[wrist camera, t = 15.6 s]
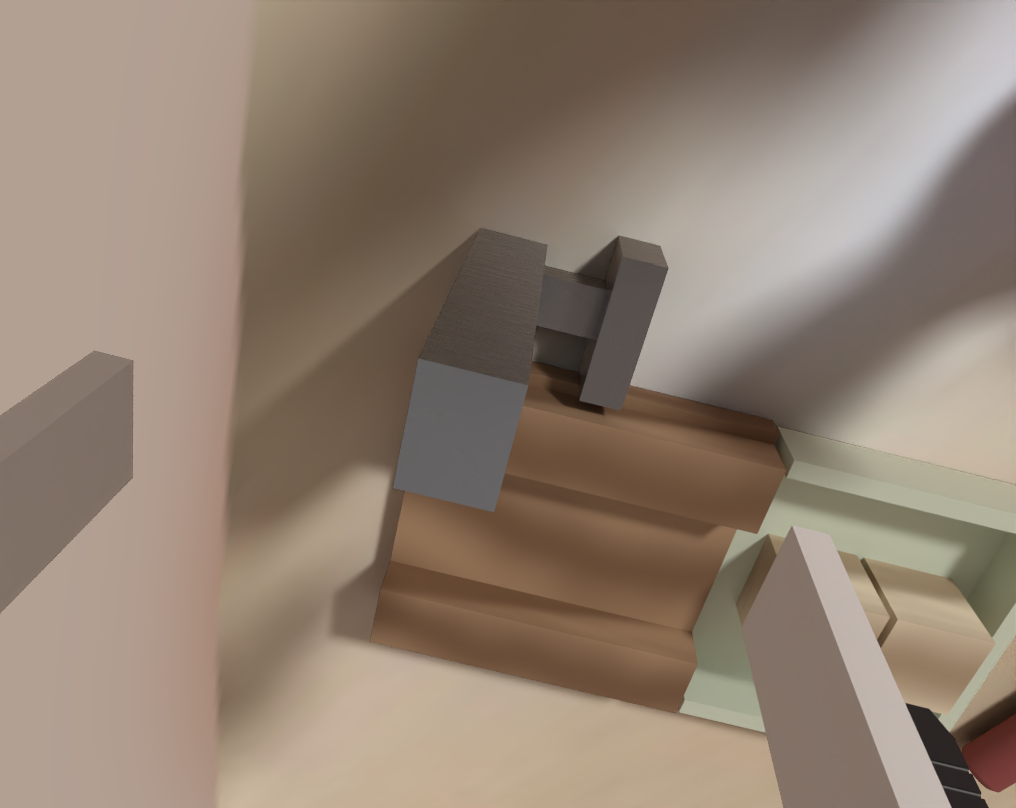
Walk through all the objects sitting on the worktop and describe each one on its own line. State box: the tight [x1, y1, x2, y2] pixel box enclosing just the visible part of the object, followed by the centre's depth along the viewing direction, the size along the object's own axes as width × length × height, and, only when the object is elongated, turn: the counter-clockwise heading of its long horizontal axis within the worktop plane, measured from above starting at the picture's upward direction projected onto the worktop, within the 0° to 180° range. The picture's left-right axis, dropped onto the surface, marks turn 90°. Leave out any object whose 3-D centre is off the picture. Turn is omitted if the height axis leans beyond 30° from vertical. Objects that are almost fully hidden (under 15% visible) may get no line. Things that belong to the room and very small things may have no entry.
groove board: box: [370, 361, 786, 713], centre depth 34 cm, size 14×14×3 cm
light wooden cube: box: [861, 557, 996, 715], centre depth 33 cm, size 4×4×4 cm
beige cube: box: [736, 534, 890, 639], centre depth 33 cm, size 4×4×4 cm
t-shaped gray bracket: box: [393, 228, 668, 512], centre depth 25 cm, size 6×7×13 cm
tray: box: [678, 426, 1016, 733], centre depth 34 cm, size 14×12×3 cm
